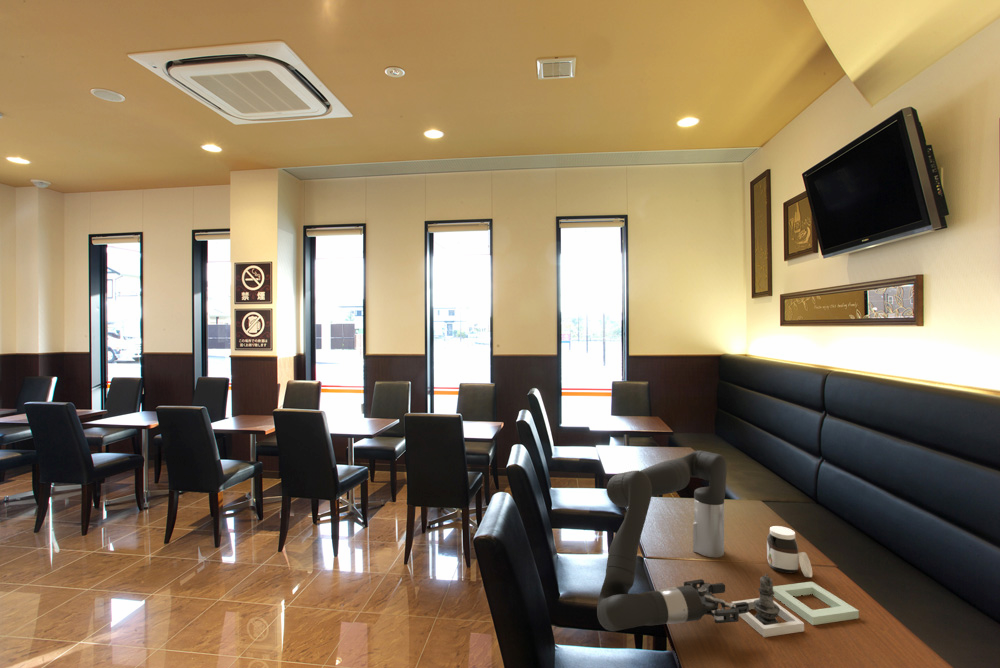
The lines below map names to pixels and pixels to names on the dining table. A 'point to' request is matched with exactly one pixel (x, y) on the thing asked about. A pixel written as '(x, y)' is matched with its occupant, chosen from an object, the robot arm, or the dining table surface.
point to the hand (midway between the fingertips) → (735, 596)
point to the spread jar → (786, 552)
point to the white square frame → (773, 629)
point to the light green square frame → (819, 616)
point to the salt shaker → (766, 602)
